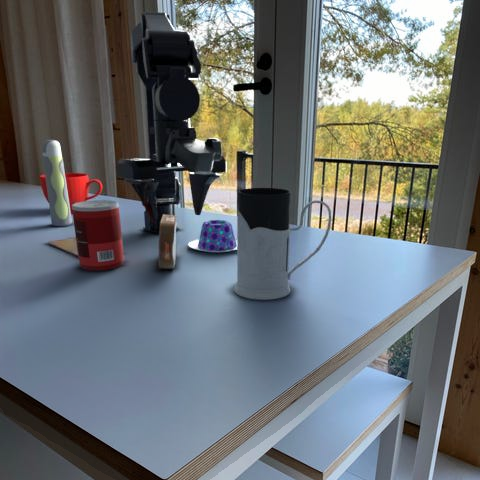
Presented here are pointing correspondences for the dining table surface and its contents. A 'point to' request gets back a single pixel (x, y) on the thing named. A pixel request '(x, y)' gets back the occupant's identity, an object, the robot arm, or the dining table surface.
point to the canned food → (98, 234)
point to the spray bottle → (56, 183)
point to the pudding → (215, 237)
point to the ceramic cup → (74, 187)
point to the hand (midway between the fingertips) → (176, 218)
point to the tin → (167, 242)
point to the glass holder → (266, 242)
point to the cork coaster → (66, 245)
